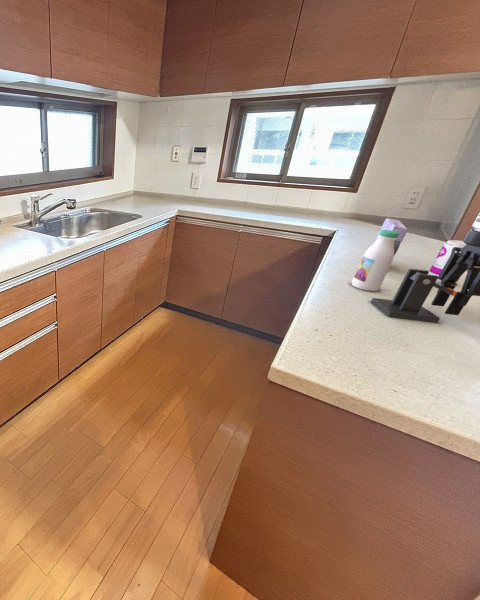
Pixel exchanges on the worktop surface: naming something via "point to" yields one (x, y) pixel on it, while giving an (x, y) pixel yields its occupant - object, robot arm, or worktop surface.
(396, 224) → the cake pan box
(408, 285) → the switch base
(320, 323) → the worktop surface
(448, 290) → the switch lever
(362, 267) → the milk bottle
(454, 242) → the supplement can
